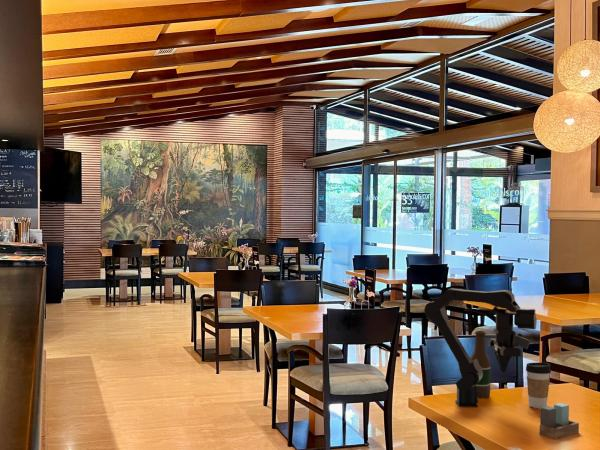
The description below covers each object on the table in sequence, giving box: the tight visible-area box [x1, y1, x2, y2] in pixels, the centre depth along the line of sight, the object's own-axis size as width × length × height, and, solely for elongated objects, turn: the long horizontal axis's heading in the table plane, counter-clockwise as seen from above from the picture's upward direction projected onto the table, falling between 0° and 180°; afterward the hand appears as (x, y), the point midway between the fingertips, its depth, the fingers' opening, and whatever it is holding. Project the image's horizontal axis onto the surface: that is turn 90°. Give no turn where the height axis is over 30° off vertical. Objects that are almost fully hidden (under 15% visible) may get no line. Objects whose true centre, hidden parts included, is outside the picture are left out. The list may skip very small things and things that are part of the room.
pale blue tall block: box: [553, 402, 570, 425], centre depth 208 cm, size 3×4×8 cm
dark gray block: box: [539, 405, 556, 428], centre depth 204 cm, size 3×4×8 cm
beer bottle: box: [470, 330, 492, 399], centre depth 247 cm, size 8×8×24 cm
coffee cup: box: [525, 362, 552, 409], centre depth 235 cm, size 8×8×15 cm
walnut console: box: [539, 419, 580, 440], centre depth 205 cm, size 6×12×3 cm, turn 124°
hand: (503, 372), depth 229 cm, fingers closed
